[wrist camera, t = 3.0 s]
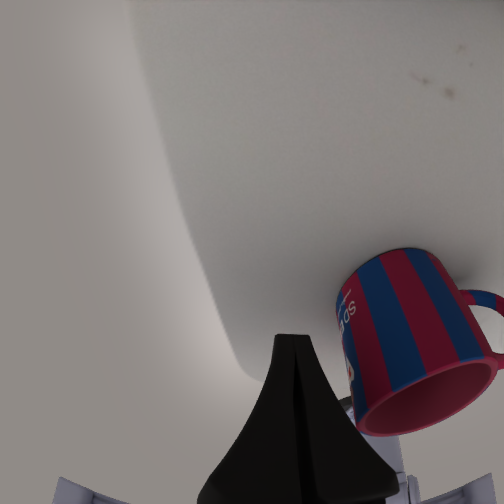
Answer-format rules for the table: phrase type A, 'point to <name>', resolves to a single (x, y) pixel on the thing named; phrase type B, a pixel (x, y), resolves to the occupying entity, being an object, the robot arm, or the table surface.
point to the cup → (412, 343)
